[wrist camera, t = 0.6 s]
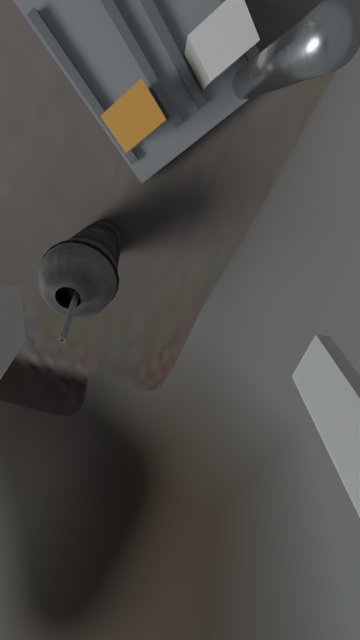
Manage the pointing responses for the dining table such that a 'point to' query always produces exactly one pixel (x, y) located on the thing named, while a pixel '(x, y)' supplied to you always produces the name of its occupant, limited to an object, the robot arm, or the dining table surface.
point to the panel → (137, 65)
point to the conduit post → (304, 50)
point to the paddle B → (220, 41)
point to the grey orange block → (134, 116)
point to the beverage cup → (81, 273)
